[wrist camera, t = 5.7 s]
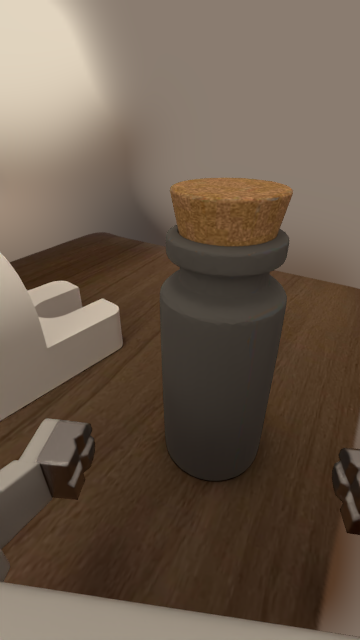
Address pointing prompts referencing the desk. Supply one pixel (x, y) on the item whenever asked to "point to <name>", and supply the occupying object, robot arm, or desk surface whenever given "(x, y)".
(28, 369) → the white slotted bracket
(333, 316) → the desk surface
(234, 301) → the bottle
